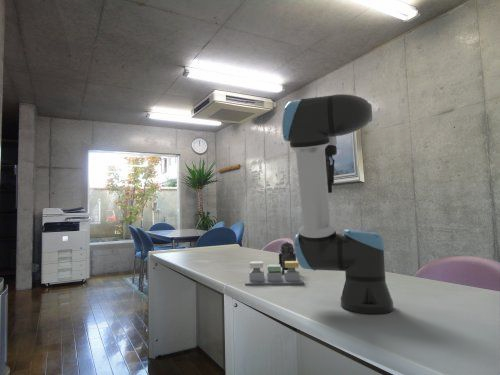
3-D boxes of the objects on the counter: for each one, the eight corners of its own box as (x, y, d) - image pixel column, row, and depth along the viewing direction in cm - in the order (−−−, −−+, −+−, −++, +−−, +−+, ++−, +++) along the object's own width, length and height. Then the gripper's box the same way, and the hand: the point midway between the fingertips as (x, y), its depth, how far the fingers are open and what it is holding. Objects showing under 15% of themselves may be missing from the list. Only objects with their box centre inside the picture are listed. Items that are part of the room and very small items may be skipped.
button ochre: (297, 272, 140) (297, 260, 141) (298, 274, 135) (298, 262, 135) (285, 272, 140) (284, 261, 141) (285, 275, 135) (285, 263, 135)
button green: (280, 276, 140) (280, 264, 141) (281, 278, 135) (280, 266, 135) (267, 276, 141) (267, 264, 141) (267, 278, 135) (267, 266, 136)
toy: (277, 274, 153) (277, 242, 155) (280, 271, 159) (279, 241, 160) (295, 274, 151) (294, 242, 152) (297, 272, 156) (296, 241, 158)
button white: (263, 272, 141) (263, 261, 141) (263, 275, 136) (262, 263, 136) (250, 272, 141) (250, 261, 142) (250, 275, 136) (249, 263, 136)
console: (300, 277, 145) (300, 268, 145) (304, 285, 129) (304, 274, 129) (247, 277, 146) (247, 268, 147) (245, 285, 131) (245, 275, 131)
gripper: (316, 149, 145) (318, 201, 143) (321, 143, 132) (323, 200, 131) (333, 149, 145) (335, 201, 143) (340, 142, 132) (342, 199, 130)
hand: (329, 200), depth 137 cm, fingers closed
